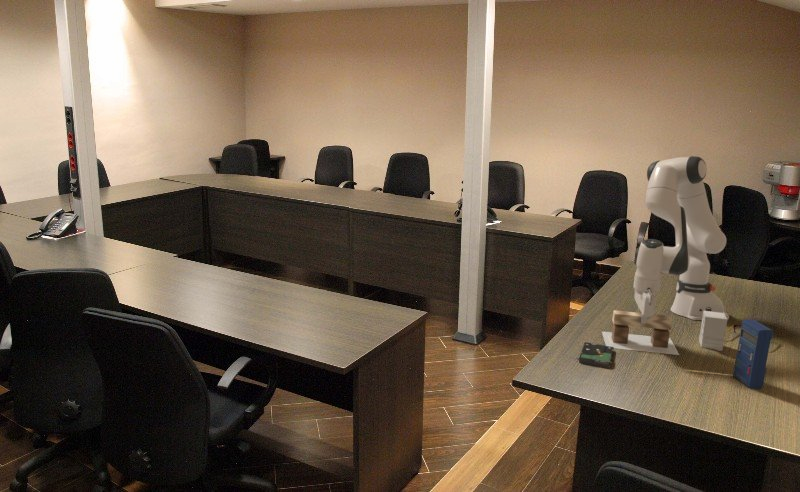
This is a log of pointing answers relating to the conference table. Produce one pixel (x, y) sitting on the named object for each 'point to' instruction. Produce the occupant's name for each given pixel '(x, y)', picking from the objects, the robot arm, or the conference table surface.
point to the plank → (635, 320)
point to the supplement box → (713, 330)
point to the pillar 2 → (660, 338)
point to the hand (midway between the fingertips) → (641, 320)
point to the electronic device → (752, 353)
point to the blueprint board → (639, 344)
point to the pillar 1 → (620, 333)
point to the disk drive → (596, 355)
